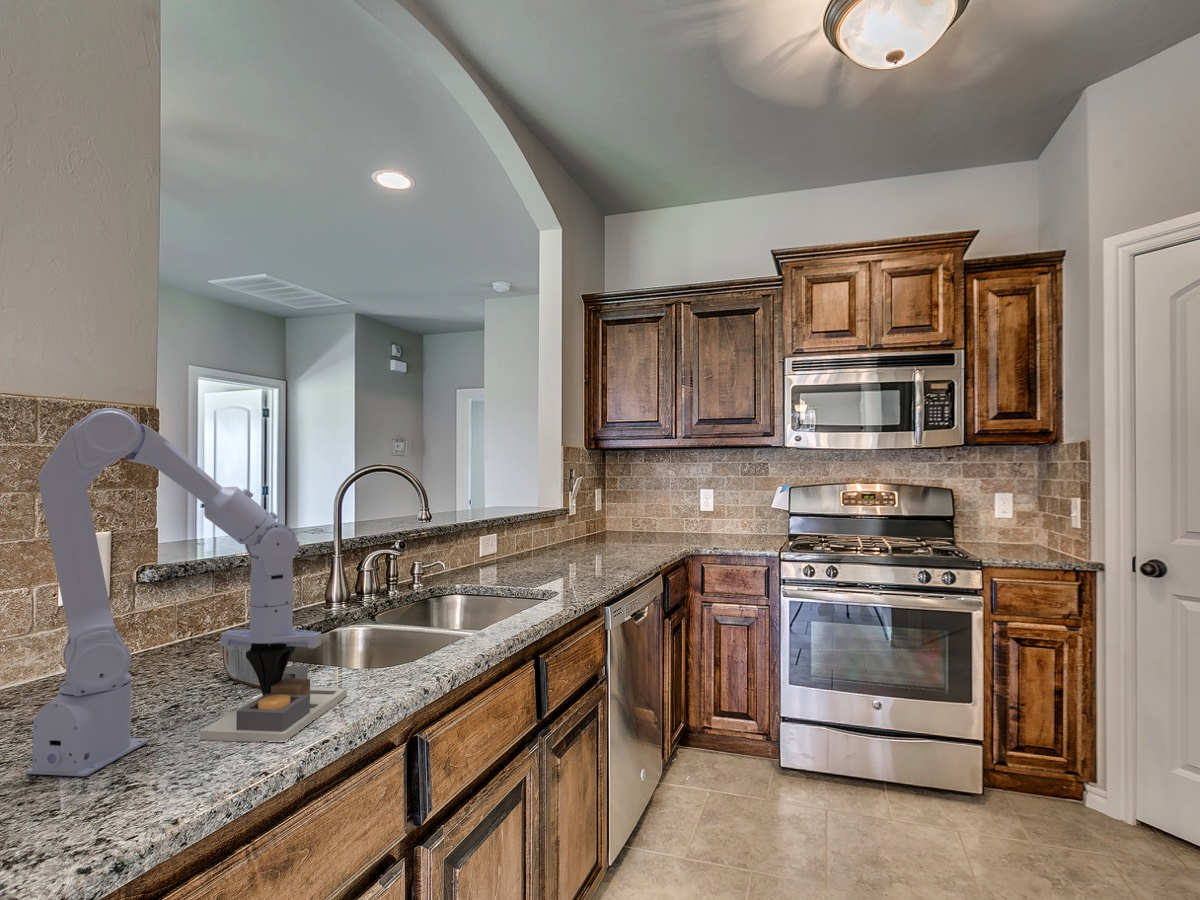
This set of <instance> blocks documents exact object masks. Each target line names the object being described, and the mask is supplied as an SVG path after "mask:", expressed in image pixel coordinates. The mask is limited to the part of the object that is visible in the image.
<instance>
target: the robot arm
mask: <svg viewBox="0 0 1200 900" xmlns="http://www.w3.org/2000/svg"><path fill="white" fill-rule="evenodd" d="M127 455H128V457H127V459H126V461H128V462H133V463H136V464H140V465H145V466H150V467H153V468H155V469H156V470H158V471H159V472H161V473H162V474H163V475H165V476H166V477H167V478H169V479H170V480H172V482H174V483H176V484H177V485H179V486H180V487H181V488H182V489H183V490H185V491H186V492H188V493H189V494H190V495H192V496H193V497H195V498H196V499H198V500H199V501H200V502H202V503H203V507H204V510H203V511H204V517H205V518H206V519H207V520H208V521H209V522H211V523H213V525H214V526H216V527H217V528H219V529H220V530H222V531H223V532H224V533H225V534H227V535H228V536H229V537H231V538H232V539H234V541H236V542H237V543H238V544H240V545H244V548H245V550H246V552H247V553H248V554H249V555H252V556H251V559H250V561H251V563H250V566H251V567H250V570H251V571H250V573H249V574H250V575H249V576H250V578H249V581H250V582H249V585H250V586H249V628H248V629H229V630H226V631H224V632H222V633H221V636H220V637H221V639H220V645H221V647H222V646H230V645H251V648H250V650H249V651H247V652H246V658H247V659H248V661H249V662H250V664H251V665H252V667H253V669H254V671H255V673H256V675H257V677H258V680H259V683H260V687H261V690H260V691H261V695H262V694H263V695H265V694H271V686H273V685H274V684H276V683H278V682H279V681H281V680H282V676H283V673H284V670H285V668H286V666H288V663H289V660H290V659H291V656H292V655H293V653H294V651H295V650H296V648H297V647H298V648H299V647H306V648H308V649H315V648H317V647H319V646H321V645H322V632H321V631H314V630H313V631H311V630H304V629H298V628H293V626H294V625H293V621H294V617H293V614H294V612H293V611H294V610H293V609H294V608H293V607H294V606H293V605H294V604H293V603H294V602H293V601H294V571H293V570H294V569H293V567H294V566H293V563H294V562H293V558H294V557H295V556H296V554H297V553H298V551H299V547H300V541H298V538H297V537H296V532H295V531H294V530H293V529H292V528H291V527H289V526H287V525H285V524H282V523H279V522H278V521H277V519H278V517H279V516H278V514H276V513H275V512H272V511H271V512H268V511H267V510H266V509H265V508H264V507H262V506H261V505H260V504H259V503H258V502H256V501H255V500H254V499H253V498H252V497H253V496H254V494H253V493H252V492H251V491H250V489H242V490H241V488H239V486H224V487H223V486H222V485H220V484H219V483H218V482H217V481H216V480H215V479H214V478H212V477H211V476H210V475H209V474H208V473H206V472H205V471H204V470H203V469H202V468H201V467H200V466H198V465H197V464H196V463H195V462H194V461H193V460H191V459H190V457H188V456H187V455H185V453H183V452H182V451H181V450H180V449H179V448H178V447H176V446H175V445H174V444H173V443H172V442H171V441H170V440H168V439H166V438H165V437H164V436H163V435H162V434H160V433H158V432H157V431H155V429H153V428H151V427H149V426H147V424H144V423H141V424H140V423H139V422H138V420H137V419H136V418H135V417H134V416H133V415H131V414H130V413H129V412H127V411H125V410H122V409H119V408H114V407H113V408H111V407H105V408H99V409H96V410H93V411H91V412H90V413H88V414H87V415H85V416H84V417H82V418H81V419H80V420H78V421H77V422H76V423H75V424H73V425H72V426H71V427H70V428H68V430H66V431H65V432H64V434H63V436H62V437H61V439H60V441H59V442H58V443H57V445H56V447H55V448H54V450H53V451H52V453H51V455H50V456H49V458H47V461H46V462H45V464H43V465H44V466H43V467H42V468H41V470H40V471H39V473H38V475H37V483H38V488H39V492H40V493H39V495H40V497H41V503H42V508H43V513H44V518H45V522H46V528H47V533H48V537H49V538H48V539H49V543H50V547H51V553H52V557H53V562H54V567H55V571H56V578H57V582H58V587H59V591H60V597H61V601H62V606H63V611H64V616H65V621H66V622H65V623H66V627H67V633H68V637H67V641H66V643H65V645H64V648H63V660H64V661H63V662H64V663H65V666H66V667H65V673H66V678H65V680H64V681H63V682H62V683H60V685H59V688H58V690H59V691H58V694H57V695H56V696H55V697H54V699H53V700H52V701H50V702H48V703H47V704H45V705H43V706H42V707H40V708H39V710H38V711H37V713H36V714H35V716H34V719H33V723H32V753H31V754H32V758H31V759H32V762H31V764H32V765H31V766H30V767H28V768H26V770H25V774H28V775H45V776H46V775H47V776H68V777H86V776H89V775H91V774H93V773H94V772H96V771H98V770H100V769H102V768H103V767H106V766H107V765H109V764H110V763H113V762H115V761H116V760H118V759H119V758H122V757H124V756H126V755H127V754H129V753H131V752H132V751H134V750H137V749H139V748H140V747H142V746H144V745H145V744H147V743H148V741H149V740H148V738H144V737H143V738H142V737H138V738H137V737H131V732H132V731H131V728H132V726H131V723H132V721H131V719H132V718H131V716H132V714H131V713H132V712H131V711H132V674H131V673H130V672H129V670H130V668H131V664H132V654H131V651H130V649H129V648H128V646H127V645H126V644H125V642H124V641H125V640H124V638H123V636H122V634H121V633H120V632H119V631H118V630H117V629H116V625H115V624H116V623H115V621H114V617H113V613H112V610H111V604H110V600H109V594H108V590H107V584H106V579H105V573H104V568H103V565H102V558H101V554H100V549H99V544H98V539H97V534H96V527H95V522H94V517H93V513H92V508H91V503H90V497H89V493H88V486H89V485H90V484H91V483H92V482H93V481H94V480H95V479H96V478H97V477H98V476H99V475H100V474H101V473H102V472H103V471H104V470H106V468H107V467H108V466H109V465H111V464H113V463H115V462H117V461H119V460H120V459H123V458H124V457H126V456H127Z"/></svg>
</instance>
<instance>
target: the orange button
mask: <svg viewBox="0 0 1200 900" xmlns="http://www.w3.org/2000/svg"><path fill="white" fill-rule="evenodd" d="M288 704H290V696H289V695H283V694H280V695H272V696H268V697H265V698H262V699H261V700H259V701H258V709H274V710H281V709H282V708H284V707H285V706H287V705H288Z"/></svg>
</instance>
